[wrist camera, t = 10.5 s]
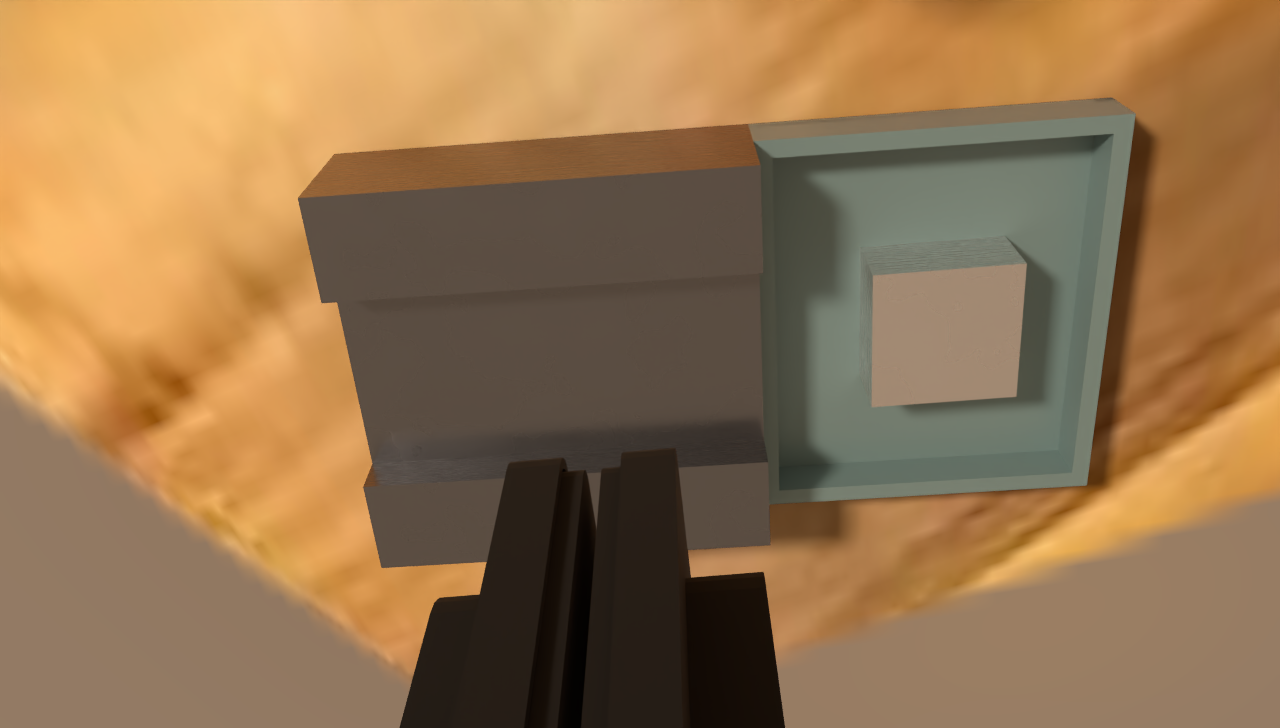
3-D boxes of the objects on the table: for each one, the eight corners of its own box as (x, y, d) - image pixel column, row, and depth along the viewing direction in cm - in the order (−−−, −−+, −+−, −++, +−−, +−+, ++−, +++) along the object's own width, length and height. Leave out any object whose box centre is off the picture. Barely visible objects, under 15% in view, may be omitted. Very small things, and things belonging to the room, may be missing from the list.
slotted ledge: (748, 124, 37) (760, 164, 33) (758, 475, 44) (770, 544, 40) (334, 154, 38) (297, 198, 34) (405, 497, 44) (381, 568, 40)
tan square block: (872, 275, 37) (859, 247, 39) (871, 407, 39) (859, 373, 41) (1026, 263, 36) (1004, 236, 39) (1016, 396, 39) (996, 363, 41)
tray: (1111, 97, 37) (1135, 113, 35) (1068, 456, 43) (1086, 485, 42) (748, 124, 37) (753, 141, 36) (758, 475, 44) (763, 504, 42)
